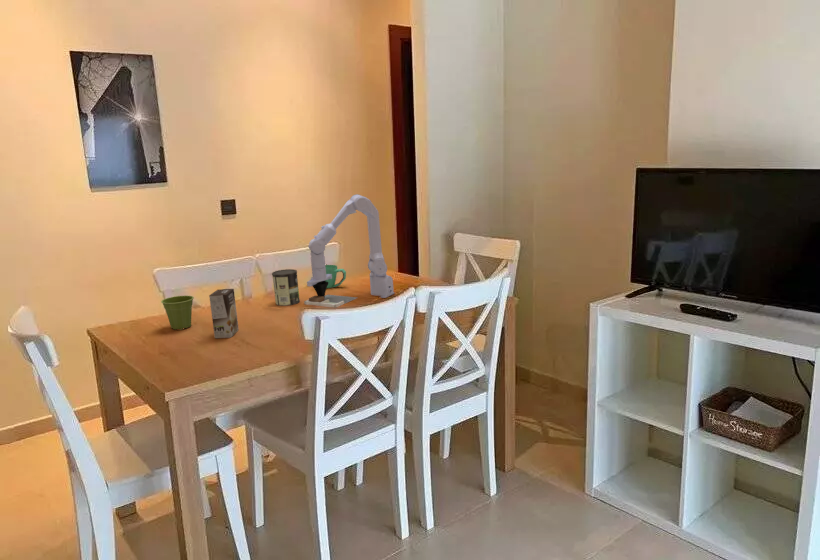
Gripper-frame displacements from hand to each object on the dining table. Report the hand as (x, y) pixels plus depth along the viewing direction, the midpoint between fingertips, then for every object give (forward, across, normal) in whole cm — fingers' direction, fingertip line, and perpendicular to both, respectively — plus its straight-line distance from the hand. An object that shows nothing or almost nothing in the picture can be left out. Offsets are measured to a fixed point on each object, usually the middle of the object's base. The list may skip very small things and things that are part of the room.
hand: (321, 299), depth 269 cm
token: (+1, +3, 0) cm, 3 cm away
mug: (+2, -22, -10) cm, 24 cm away
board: (+2, -2, +4) cm, 5 cm away
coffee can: (+2, +6, -13) cm, 15 cm away
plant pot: (+2, +46, -32) cm, 56 cm away
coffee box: (+2, +46, -8) cm, 47 cm away
